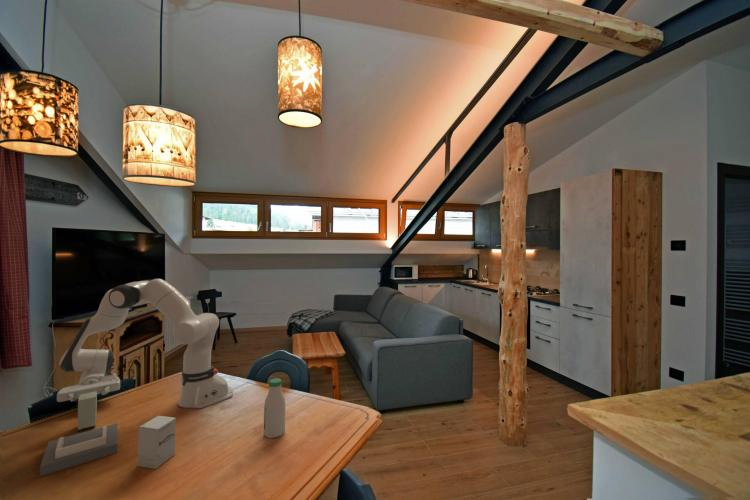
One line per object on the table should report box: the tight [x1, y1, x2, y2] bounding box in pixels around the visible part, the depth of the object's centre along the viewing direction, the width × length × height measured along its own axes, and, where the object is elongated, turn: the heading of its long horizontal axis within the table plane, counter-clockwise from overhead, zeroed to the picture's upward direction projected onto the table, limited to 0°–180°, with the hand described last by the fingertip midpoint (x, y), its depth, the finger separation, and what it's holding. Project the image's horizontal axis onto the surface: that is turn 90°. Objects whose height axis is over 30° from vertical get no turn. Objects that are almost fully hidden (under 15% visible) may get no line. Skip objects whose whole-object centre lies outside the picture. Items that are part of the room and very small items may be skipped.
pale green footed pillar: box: [77, 391, 98, 432], centre depth 119 cm, size 5×6×12 cm
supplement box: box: [137, 415, 177, 470], centre depth 101 cm, size 7×7×13 cm
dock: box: [39, 423, 118, 477], centre depth 105 cm, size 18×16×6 cm
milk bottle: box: [263, 377, 286, 439], centre depth 117 cm, size 8×8×20 cm
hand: (89, 396), depth 129 cm, fingers open, 8 cm apart
